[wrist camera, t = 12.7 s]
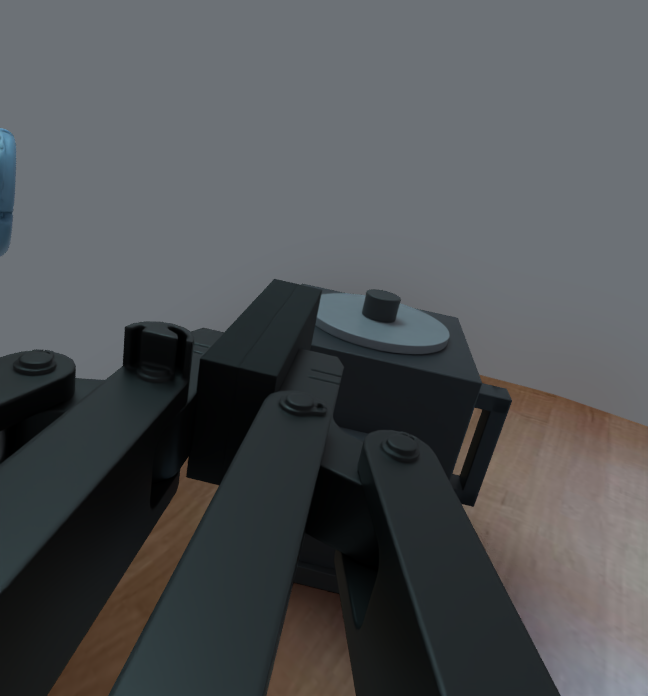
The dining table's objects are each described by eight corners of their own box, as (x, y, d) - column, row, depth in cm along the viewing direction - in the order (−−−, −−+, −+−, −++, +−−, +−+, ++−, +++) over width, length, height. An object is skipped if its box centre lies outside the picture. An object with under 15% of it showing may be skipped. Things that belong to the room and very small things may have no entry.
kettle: (182, 567, 36) (215, 295, 29) (242, 451, 50) (274, 248, 43) (464, 638, 35) (570, 374, 28) (445, 499, 49) (512, 300, 42)
